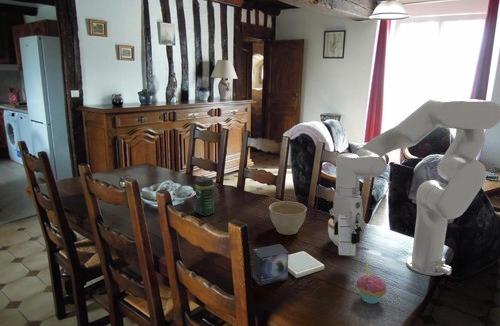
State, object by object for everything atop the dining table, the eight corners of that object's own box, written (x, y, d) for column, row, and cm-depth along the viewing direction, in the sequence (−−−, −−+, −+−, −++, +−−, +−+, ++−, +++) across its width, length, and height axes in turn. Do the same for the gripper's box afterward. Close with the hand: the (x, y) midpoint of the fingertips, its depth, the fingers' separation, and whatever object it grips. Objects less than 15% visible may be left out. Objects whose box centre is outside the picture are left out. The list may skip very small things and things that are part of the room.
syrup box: (355, 256, 119) (356, 216, 116) (338, 255, 121) (338, 215, 117) (354, 248, 125) (355, 210, 122) (337, 247, 126) (337, 209, 123)
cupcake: (354, 303, 104) (357, 267, 101) (356, 288, 112) (359, 254, 109) (385, 310, 101) (389, 273, 98) (385, 294, 109) (388, 259, 106)
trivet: (324, 269, 123) (324, 264, 123) (296, 278, 117) (296, 273, 117) (303, 254, 133) (303, 250, 133) (276, 262, 128) (277, 257, 127)
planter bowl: (271, 222, 164) (271, 200, 161) (306, 225, 161) (307, 202, 158) (266, 236, 148) (266, 212, 146) (304, 240, 145) (305, 215, 143)
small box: (259, 287, 112) (260, 257, 110) (251, 277, 118) (251, 248, 116) (288, 280, 116) (289, 251, 114) (279, 270, 122) (279, 243, 120)
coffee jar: (216, 214, 173) (216, 178, 169) (202, 217, 169) (201, 180, 164) (207, 208, 181) (206, 173, 177) (193, 211, 176) (192, 176, 172)
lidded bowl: (357, 252, 135) (360, 226, 132) (324, 247, 139) (326, 221, 137) (359, 239, 146) (361, 214, 144) (329, 234, 151) (330, 210, 148)
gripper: (375, 194, 112) (373, 245, 116) (337, 182, 127) (337, 227, 131) (358, 199, 108) (357, 251, 112) (321, 186, 123) (321, 232, 127)
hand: (346, 238), depth 122 cm, fingers closed on syrup box, 7 cm apart
